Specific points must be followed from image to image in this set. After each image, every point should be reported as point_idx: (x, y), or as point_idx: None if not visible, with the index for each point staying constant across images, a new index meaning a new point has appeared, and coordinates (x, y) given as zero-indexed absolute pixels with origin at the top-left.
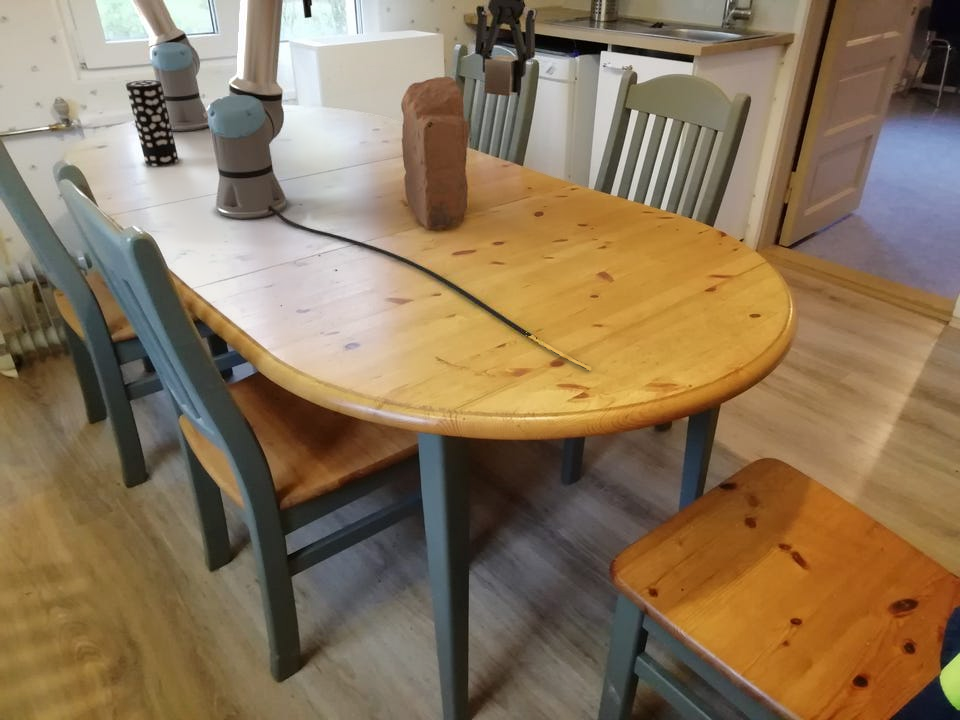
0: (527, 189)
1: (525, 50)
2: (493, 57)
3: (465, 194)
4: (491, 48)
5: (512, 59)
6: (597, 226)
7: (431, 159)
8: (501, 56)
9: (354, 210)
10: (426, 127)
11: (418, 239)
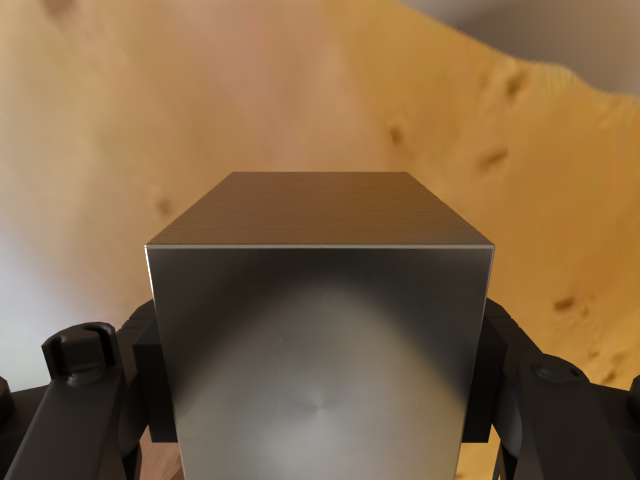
0: (393, 147)
1: (613, 440)
2: (211, 435)
3: None
4: (118, 474)
5: (423, 431)
6: (595, 298)
7: None
8: (247, 344)
9: None
10: (150, 438)
11: None
